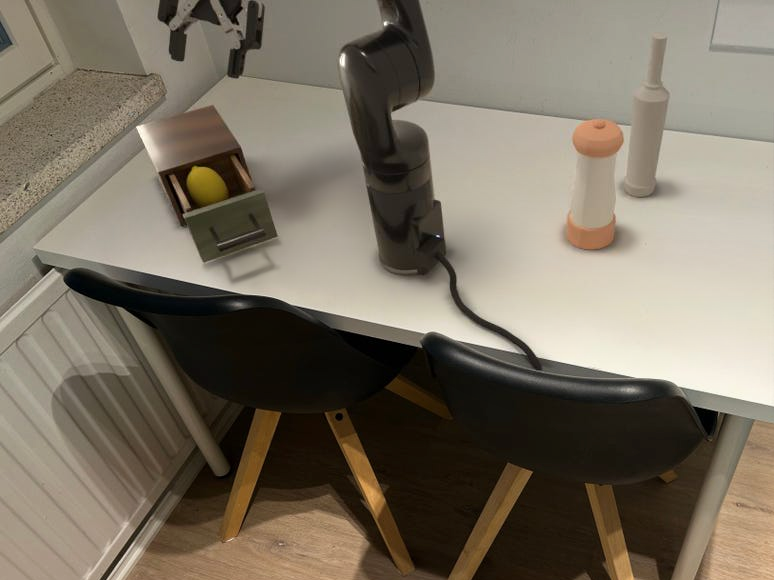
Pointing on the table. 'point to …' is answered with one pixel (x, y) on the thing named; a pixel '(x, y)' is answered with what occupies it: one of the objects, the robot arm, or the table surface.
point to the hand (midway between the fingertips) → (205, 69)
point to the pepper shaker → (594, 184)
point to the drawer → (226, 212)
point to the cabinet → (187, 146)
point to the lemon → (206, 187)
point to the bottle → (647, 125)
